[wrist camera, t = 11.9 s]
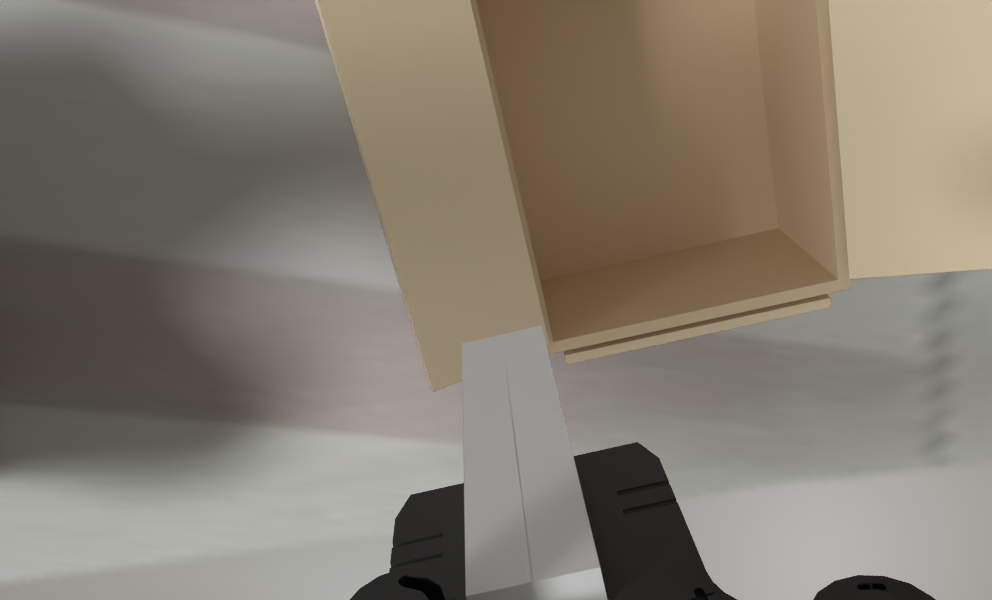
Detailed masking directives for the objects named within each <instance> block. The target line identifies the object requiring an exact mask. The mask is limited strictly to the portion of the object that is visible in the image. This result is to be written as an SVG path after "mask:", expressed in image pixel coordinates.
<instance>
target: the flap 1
mask: <svg viewBox="0 0 992 600" xmlns="http://www.w3.org/2000/svg"><path fill="white" fill-rule="evenodd" d="M315 3H316V6H317V9H318V13H319V16H320V19H321V23H322V26H323V30H324V33H325V36H326V40H327V43H328V46H329V50H330V53H331V57H332V60H333V63H334V67H335V70H336V73H337V77H338V80H339V83H340V87H341V90H342V94H343V97H344V100H345V104H346V107H347V110H348V114H349V117H350V120H351V124H352V127H353V131H354V134H355V137H356V141H357V144H358V147H359V151H360V154H361V157H362V161H363V164H364V168H365V171H366V174H367V178H368V181H369V184H370V188H371V191H372V194H373V198H374V201H375V205H376V208H377V211H378V215H379V218H380V221H381V225H382V228H383V231H384V235H385V238H386V242H387V245H388V248H389V252H390V255H391V258H392V262H393V265H394V268H395V272H396V275H397V279H398V282H399V285H400V289H401V292H402V295H403V299H404V302H405V305H406V309H407V312H408V316H409V319H410V322H411V326H412V329H413V332H414V336H415V339H416V343H417V346H418V349H419V353H420V356H421V359H422V363H423V366H424V369H425V373H426V376H427V380H428V383H429V386H430V389H431V390H432V391H433V392H435V391H437V390H440V389H442V388H444V387H447V386H449V385H452V384H454V383H457V382H459V381H462V343H467V342H471V341H475V340H480V339H484V338H488V337H493V336H497V335H502V334H506V333H510V332H515V331H519V330H523V329H528V328H532V327H537V326H541V325H542V329H543V333H544V337H545V341H546V346H547V345H549V341H548V337H547V332H546V328H545V324H544V319H543V315H542V311H541V306H540V302H539V298H538V293H537V289H536V285H535V280H534V276H533V272H532V267H531V263H530V259H529V254H528V250H527V246H526V241H525V237H524V232H523V228H522V224H521V219H520V215H519V211H518V206H517V202H516V198H515V193H514V189H513V185H512V180H511V176H510V172H509V167H508V163H507V159H506V154H505V150H504V146H503V141H502V137H501V133H500V128H499V124H498V120H497V115H496V111H495V107H494V102H493V98H492V94H491V89H490V85H489V81H488V76H487V72H486V68H485V63H484V59H483V54H482V50H481V46H480V41H479V37H478V33H477V28H476V24H475V20H474V15H473V11H472V7H471V2H470V0H315Z"/></svg>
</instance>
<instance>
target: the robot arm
mask: <svg viewBox="0 0 992 600" xmlns="http://www.w3.org/2000/svg"><path fill="white" fill-rule="evenodd" d="M462 388H463V452H464V483H462V484H458V485H453V486H448V487H444V488H439V489H435V490H430V491H426V492H421V493H417V494H412V495H410V497H409V498H408V500H407V502H406V503H405V505H404V506H403V508H402V509H401V511H400V512H399V514H398V515H397V517H396V519H395V526H394V535H393V548H392V553H391V562H390V563H391V568H390V572H389V573H387V574H384V575H382V576H379V577H377V578H376V579H374V580H373V581H371V582H369V583H368V584H366V585H365V586H364V587H362V588H360V589H359V590H358V591H357V592H356V593H355V595H354V596H353V597H352V598H351V599H350V600H736V599H735V598H733V597H731V596H729V595H728V594H726V593H724V592H723V591H722V590H721V589H720V588H719V587H718V586H717V585H716V584H714V583H713V581H712V580H711V578H710V576H709V575H708V573H707V572H706V570H705V568H704V565H703V562H702V560H701V558H700V555H699V553H698V550H697V548H696V546H695V543H694V541H693V539H692V536H691V534H690V531H689V529H688V526H687V524H686V522H685V519H684V517H683V514H682V512H681V510H680V507H679V505H678V503H677V501H676V498H675V495H674V493H673V491H672V488H671V486H670V485H669V482H668V479H667V476H666V474H665V471H664V469H663V467H662V464H661V462H660V459H659V458H658V457H657V456H655V455H654V454H653V453H651V452H650V451H649V450H647V449H646V448H645V447H643V446H642V445H641V444H639V443H638V442H636V443H632V444H627V445H623V446H618V447H614V448H609V449H605V450H600V451H596V452H591V453H587V454H582V455H578V456H573V453H572V449H571V445H570V440H569V436H568V432H567V428H566V424H565V420H564V416H563V412H562V407H561V403H560V399H559V395H558V391H557V387H556V383H555V379H554V374H553V370H552V366H551V362H550V358H549V354H548V350H547V346H546V341H545V337H544V333H543V329H542V325H541V326H537V327H532V328H528V329H523V330H519V331H515V332H510V333H506V334H502V335H497V336H493V337H488V338H484V339H480V340H475V341H471V342H467V343H462ZM814 600H935V599H934V598H933V597H931V596H930V595H928V594H926V593H924V592H923V591H921V590H919V589H918V588H916V587H915V586H913V585H912V584H909V583H906V582H902V581H899V580H895V579H892V578H888V577H885V576H863V575H857V576H853V577H849V578H845V579H841V580H837V581H834V582H833V583H831V584H830V585H828V586H827V587H825V588H824V589H822V590H821V591H819V592H818V593H817V595H816V596H815V598H814Z"/></svg>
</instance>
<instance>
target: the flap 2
mask: <svg viewBox="0 0 992 600" xmlns="http://www.w3.org/2000/svg"><path fill="white" fill-rule="evenodd" d="M828 1H829V15H830V28H831V41H832V54H833V67H834V80H835V94H836V107H837V120H838V133H839V146H840V159H841V172H842V186H843V199H844V212H845V225H846V238H847V251H848V265H849V278H850V279H857V278H870V277H884V276H898V275H912V274H925V273H939V272H953V271H967V270H980V269H992V0H828Z"/></svg>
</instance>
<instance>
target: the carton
mask: <svg viewBox="0 0 992 600" xmlns="http://www.w3.org/2000/svg"><path fill="white" fill-rule="evenodd" d="M470 2H471V7H472V11H473V15H474V20H475V24H476V28H477V33H478V37H479V41H480V46H481V50H482V54H483V59H484V63H485V68H486V72H487V76H488V81H489V85H490V89H491V94H492V98H493V102H494V107H495V111H496V115H497V120H498V124H499V128H500V133H501V137H502V141H503V146H504V150H505V154H506V159H507V163H508V167H509V172H510V176H511V180H512V185H513V189H514V193H515V198H516V202H517V206H518V211H519V215H520V219H521V224H522V228H523V232H524V237H525V241H526V246H527V250H528V254H529V259H530V263H531V267H532V272H533V276H534V280H535V285H536V289H537V293H538V298H539V302H540V306H541V311H542V315H543V319H544V324H545V328H546V332H547V337H548V341H549V345H547V350H548V354H553V353H558V352H562V351H564V354H565V358H566V363H567V364H572V363H576V362H581V361H586V360H590V359H595V358H599V357H604V356H609V355H613V354H618V353H622V352H627V351H632V350H636V349H641V348H646V347H650V346H655V345H659V344H664V343H669V342H673V341H678V340H682V339H687V338H692V337H696V336H701V335H705V334H710V333H715V332H719V331H724V330H728V329H733V328H738V327H742V326H747V325H752V324H756V323H761V322H765V321H770V320H775V319H779V318H784V317H788V316H793V315H798V314H802V313H807V312H811V311H816V310H821V309H825V308H830V307H831V299H830V297H829V296H828V295H827V294H828V293H833V292H837V291H842V290H846V289H851V288H852V284H851V279H850V278H849V265H848V251H847V238H846V225H845V212H844V199H843V186H842V172H841V159H840V146H839V133H838V120H837V107H836V94H835V80H834V67H833V54H832V41H831V28H830V15H829V1H828V0H470Z"/></svg>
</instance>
